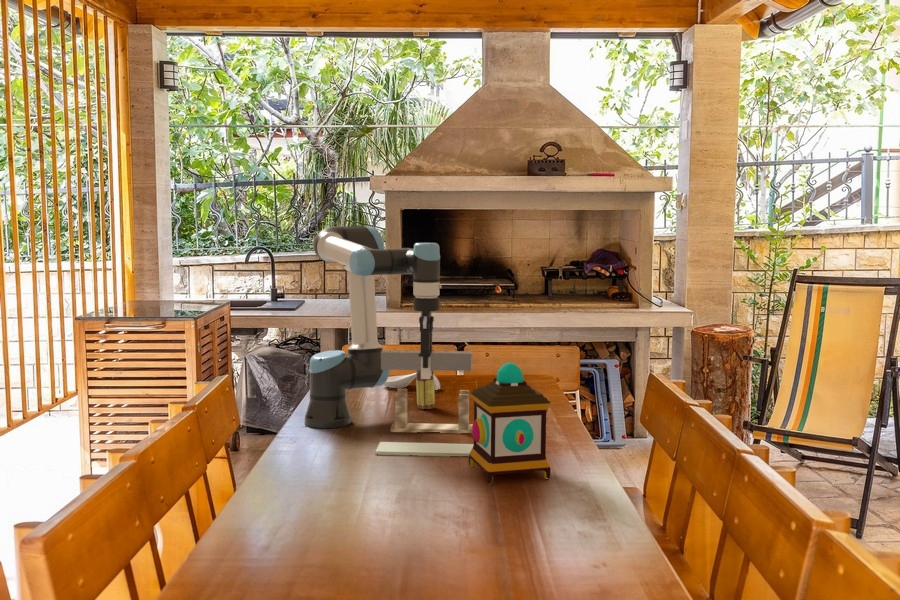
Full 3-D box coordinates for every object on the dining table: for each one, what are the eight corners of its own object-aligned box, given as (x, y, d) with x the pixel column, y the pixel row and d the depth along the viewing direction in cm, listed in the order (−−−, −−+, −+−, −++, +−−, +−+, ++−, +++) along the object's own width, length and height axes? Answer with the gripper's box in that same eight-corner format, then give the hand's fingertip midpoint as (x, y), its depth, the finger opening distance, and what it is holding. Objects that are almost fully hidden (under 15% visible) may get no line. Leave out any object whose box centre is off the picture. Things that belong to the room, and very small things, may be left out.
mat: (375, 454, 243) (375, 451, 243) (380, 445, 253) (380, 441, 253) (473, 457, 241) (473, 453, 241) (474, 447, 251) (474, 444, 251)
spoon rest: (376, 390, 333) (376, 371, 332) (387, 384, 344) (387, 366, 343) (434, 393, 326) (434, 375, 326) (443, 387, 338) (443, 370, 337)
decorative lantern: (484, 487, 215) (485, 370, 212) (462, 465, 234) (463, 357, 231) (557, 481, 220) (560, 367, 217) (530, 460, 239) (532, 354, 236)
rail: (381, 369, 244) (380, 352, 243) (382, 367, 248) (382, 350, 247) (471, 370, 242) (471, 353, 242) (471, 368, 246) (472, 351, 246)
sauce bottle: (435, 406, 304) (435, 351, 302) (433, 410, 298) (433, 354, 296) (417, 405, 305) (417, 351, 302) (415, 409, 298) (415, 354, 296)
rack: (390, 431, 268) (390, 393, 267) (393, 426, 275) (393, 388, 274) (472, 433, 267) (473, 395, 265) (473, 428, 274) (473, 390, 273)
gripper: (437, 299, 234) (437, 383, 237) (441, 294, 251) (441, 372, 254) (410, 299, 235) (410, 382, 237) (416, 293, 252) (416, 371, 254)
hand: (426, 377), depth 245 cm, fingers closed on rail, 4 cm apart
